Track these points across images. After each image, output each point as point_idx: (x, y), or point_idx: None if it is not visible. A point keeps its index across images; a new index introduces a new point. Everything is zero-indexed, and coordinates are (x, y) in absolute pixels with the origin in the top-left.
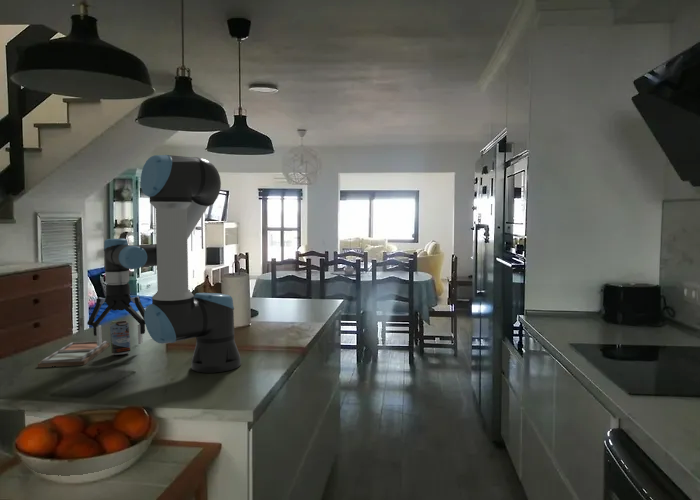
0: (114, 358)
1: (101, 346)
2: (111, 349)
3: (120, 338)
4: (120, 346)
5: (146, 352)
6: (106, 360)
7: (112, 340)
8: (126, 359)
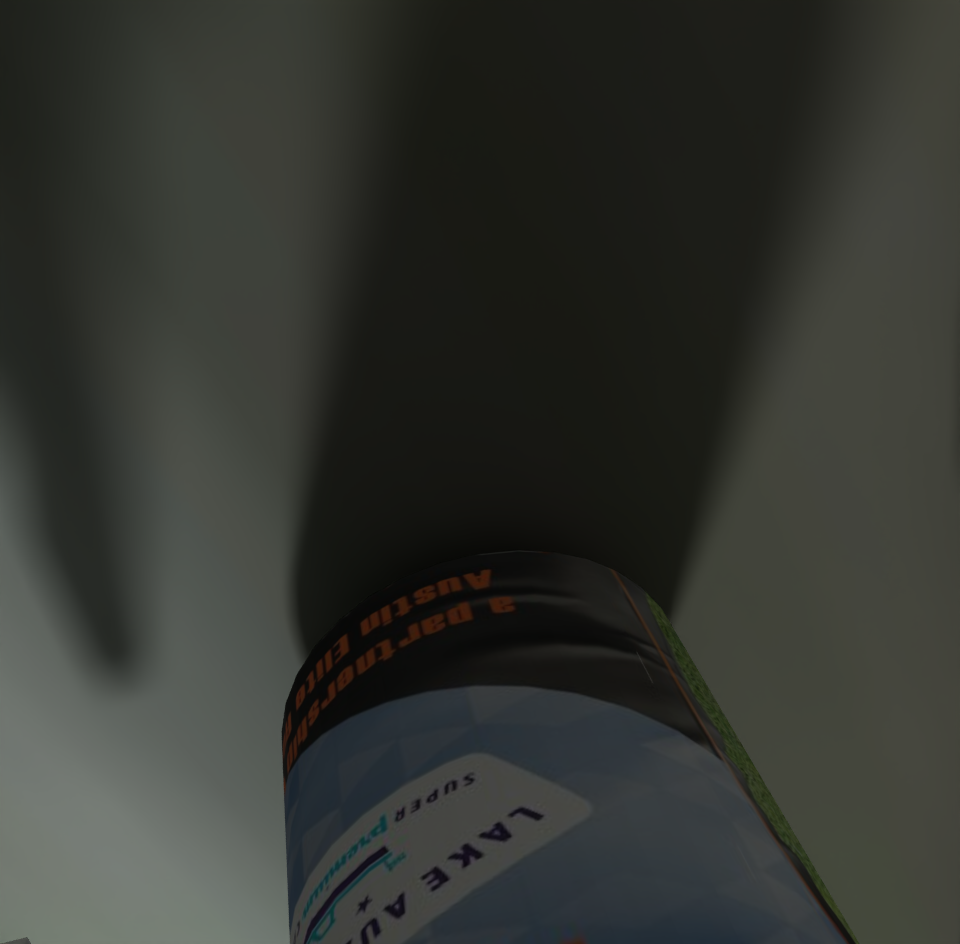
0: (475, 392)
1: None
2: (687, 656)
3: (450, 914)
4: (416, 688)
5: (24, 865)
6: (584, 206)
7: (727, 817)
8: (99, 315)
